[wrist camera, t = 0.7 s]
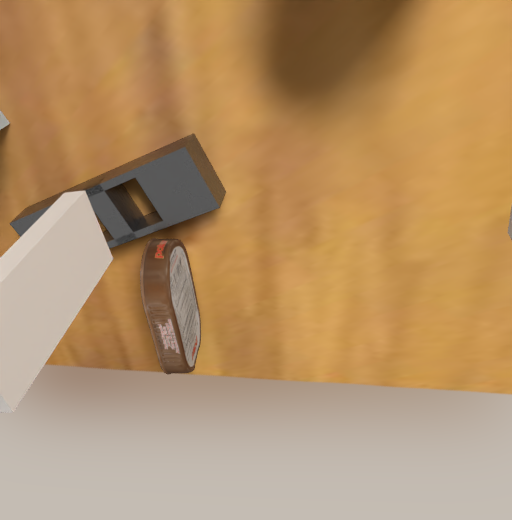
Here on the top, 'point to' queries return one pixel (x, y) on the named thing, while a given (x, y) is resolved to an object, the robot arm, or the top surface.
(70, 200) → the robot arm
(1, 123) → the pale blue upright block
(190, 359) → the tin
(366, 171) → the top surface
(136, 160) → the board
